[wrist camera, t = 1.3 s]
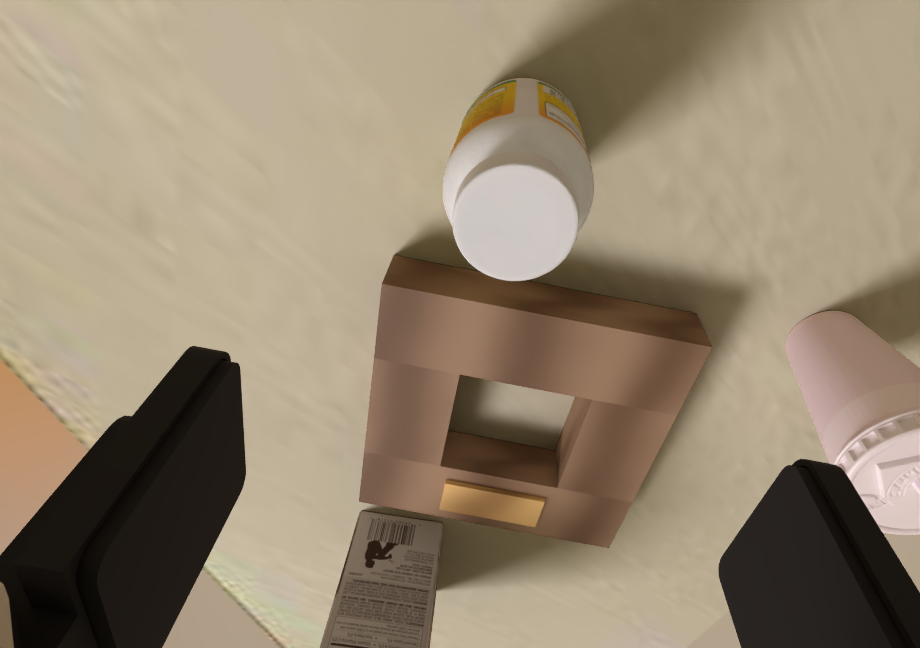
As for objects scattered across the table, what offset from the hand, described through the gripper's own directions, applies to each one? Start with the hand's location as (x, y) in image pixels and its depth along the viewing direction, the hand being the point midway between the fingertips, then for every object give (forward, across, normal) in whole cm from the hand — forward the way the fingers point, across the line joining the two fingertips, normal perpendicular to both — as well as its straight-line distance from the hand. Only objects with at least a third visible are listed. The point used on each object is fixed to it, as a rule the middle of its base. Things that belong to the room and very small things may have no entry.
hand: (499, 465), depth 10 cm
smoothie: (+20, -18, +7) cm, 28 cm away
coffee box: (+20, +2, +32) cm, 37 cm away
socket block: (+19, -3, +15) cm, 25 cm away
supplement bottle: (+20, 0, 0) cm, 20 cm away
